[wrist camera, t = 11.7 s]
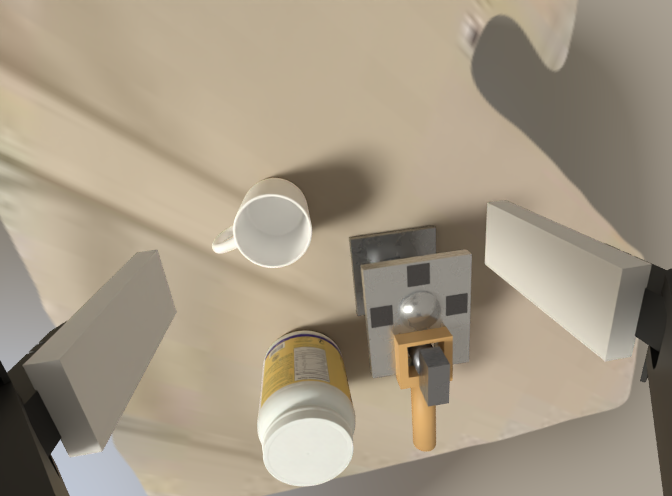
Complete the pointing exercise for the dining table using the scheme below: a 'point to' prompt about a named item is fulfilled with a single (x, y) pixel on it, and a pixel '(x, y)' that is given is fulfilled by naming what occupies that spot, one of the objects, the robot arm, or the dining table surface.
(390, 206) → the dining table surface
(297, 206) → the cup
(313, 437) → the supplement tub
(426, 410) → the wooden handled frame
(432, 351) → the wedge pin
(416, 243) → the ball joint plate
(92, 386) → the robot arm
